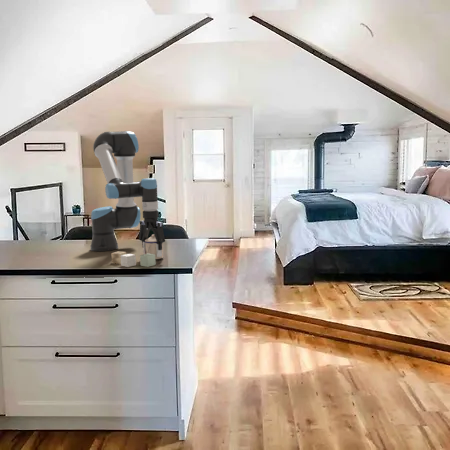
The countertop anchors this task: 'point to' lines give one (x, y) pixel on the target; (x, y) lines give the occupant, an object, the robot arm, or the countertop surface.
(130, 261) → the white painted cube
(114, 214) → the robot arm
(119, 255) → the maple cube
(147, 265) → the sage painted cube
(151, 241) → the teacup with lid
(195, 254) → the countertop surface
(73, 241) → the countertop surface
